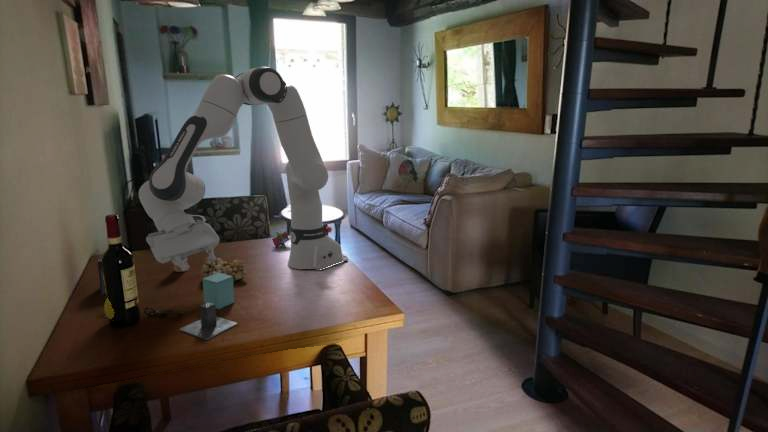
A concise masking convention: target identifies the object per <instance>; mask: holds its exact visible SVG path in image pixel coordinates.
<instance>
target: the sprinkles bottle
mask: <svg viewBox="0 0 768 432" xmlns="http://www.w3.org/2000/svg"><path fill="white" fill-rule="evenodd" d="M180 260H181V261H183V262H184V263H186V262H187V263H188V256H185V257H182V258H180ZM173 271H174V272H178V273H181V272H182V273H183V271H182V269H181V268H180V267H179V266H177V265H175V264H173Z"/></svg>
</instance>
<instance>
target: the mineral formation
mask: <svg viewBox="0 0 768 432" xmlns="http://www.w3.org/2000/svg"><path fill="white" fill-rule="evenodd" d="M207 258H208V257H206V258H205V259H204V264H203V265H202V266H201V267H202V269H201V271H200V273H201V275H203V276H204V277H208V276H211V275H214V274H216V273H222V274H226V275H230V276H233V282H236V281H237V280H241V279H242V278H243V276H246V275H248V273H249V270H248V271H247V270H246V269H245V266H246V262H245V261H244V260H239V259H234V260H233V261H232V262H228V261H227V260H226V261H225V260H222V258H220V257H218V258H217V257H216V260H215V261H214V262H209V260H208V259H207Z"/></svg>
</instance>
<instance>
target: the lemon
mask: <svg viewBox="0 0 768 432" xmlns="http://www.w3.org/2000/svg"><path fill="white" fill-rule="evenodd" d="M111 305H112V304H111V302H110V301H109V299H108V297H107V298H106V299H105V302H104V306H103V307H104V314H105V316H106V317H107V319H109V320H111V319H112V318H113V317H114V313H115V312H114V309H113V308H112V306H111Z"/></svg>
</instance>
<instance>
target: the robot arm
mask: <svg viewBox="0 0 768 432" xmlns="http://www.w3.org/2000/svg"><path fill="white" fill-rule="evenodd" d="M299 93H300V92H299V91H298V90H297V88H296V87H295V85H294V86H293V85H291V84H287V82H285V80H284V79H283V77H282V76H281V74H280V73H279V72H278V71H277V70H276V69H274V68H272V67H269V66H259V67H253V68H250V69H248V70H246V71H244V72H241V73H239V74H238V75H236V77H234V76H232V75H229V74H225V73H223V74H217V75H215V76H214V78H213V79H212V80H211V82H210V83H209V85H208V86H207V88H206V90H205V92H204V93H203V95H202V98H201V99H200V102H199V104H198V107H197V108H196V110H195V111H194V113H193V114H192V115H191V116H190V117H189V118H188V119H187V120H186V121H185V122H184V124H183V125H182V127H181V128H180V130H179V131H178V133H177V135H176V137H175V138H174V140H173V142H172V143H171V145H170V148H169V149H168V151H167V152H166V154H165V156H164V158H163V159H162V160H161V161H160V162H159V164H157V165H156V167H154V169H153V170H152V171H151V174H150V175H149V177H148V180H147V181H145V182H144V183H143V184H142V185H141V186H140V188H139V190H138V198H139V201H140V203H141V205H142V207H143V208H144V211H145V212H146V214H147V215H148V216H149V218H151V219H152V220H153V223H154V226H155V228H156V229H157V231H156V232H151V233H148V235H147V236H146V238H145V241H146V243H147V244H148V245H149V248H150V250H151V253H152V254H153V256H154V258H155V260H156V261H157V262H158V263H159V264H164V263H168V262H172V264H173V265H174V264H175V265H177V266H179V267H180V268H181V269H182V272H186V271H188V270H189V269H190V267H191V266H190V265H189V263H188V261H187V262H186V263H184V262H183V261H181V260H180V258H182V257H185V256H187V257H188V256H191V255H194V254H198V253H201V252H205V253H206V254H208V256H207V257H206V258H207V259H208V260H209V262H214V261H215V260H216V258H217V257H216V255H215V248H216V247H217V246H218V245H219V244H220V240H221V239H220V236H219V234H218V233H216V231H215V229H214V228H213V227H212V226H211V225H210V224H209V223H207V222H206V221H207V220H206V218H205V216H203V215H196V214H195V215H194V214H190V213H186V212H185V210H188V209H189V208H192V207H193V206H195V205H197V204H198V203H200V202H201V201H202V200H203V198H204V197H205V193H206V185H205V183H204V181H203V180H202V179H201V178H200V177H198V176H197V175H194V174H193V173H190V172H187V168H188V165H189V164H190V162H191V160H192V159H193V156H194V155H195V153H196V151H197V149H198V147H199V146H200V145H201V144H202V143H203V142H205V141H206V140H211V139H213V140H216V139H221V138H223V137H225V136H227V135H228V134H229V132H230V131H231V130H232V128H233V126H234V124H235V121H236V119H237V116H238V114H239V111H240V109H241V108H242V106H243V105H247V106H257V105H258V106H259V105H264V104H265V105H266V106H268V109H269V110H270V111H271V114H272V117H273V118H272V119H273V121H274V125H275V128H276V132H277V136H278V139H279V142H280V145H281V147H282V150H283V151H284V154H285V156H286V159H287V160H288V161H287V163H286V165H285V174H286V183H287V189H288V197H289V201H290V222H291V224H290V227H289V228H290V229H289V235H290V240H289V241H290V250H289V258H288V261H287V266H288V267H290V268H292V269H295V270H296V269H297V270H301V269H316V270H315V271H321V270H320V269H323V268H326V267H328V266H331V265H333V264H336V263H339V262H342V261H347V260H348V261H349V257H348V256H347V255H345V254H344V255H345V256H344V255H343V251H342V246H341V244H339V242H337V241H336V240H335V239H334V238H332V237H330V236H329V235H327V233H329V234H330V233H331V232H332V231H333V228H332V227H331V226H325V225H323V204H322V200H321V196H320V190H322V189H323V188H324V187H325V186H326V185H327V184H328V182H329V181H328V180H329V171H328V170H327V168H326V166H325V164H324V161H323V158H322V156H321V154H320V153H321V152H320V151H319V148H318V146H317V144H316V142H315V139H314V136H313V134H312V130H311V126H310V122H309V119H308V115H307V111H306V108H305V105H304V102H303V100H302V97H301V96H300V94H299ZM348 261H347V262H348Z"/></svg>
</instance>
